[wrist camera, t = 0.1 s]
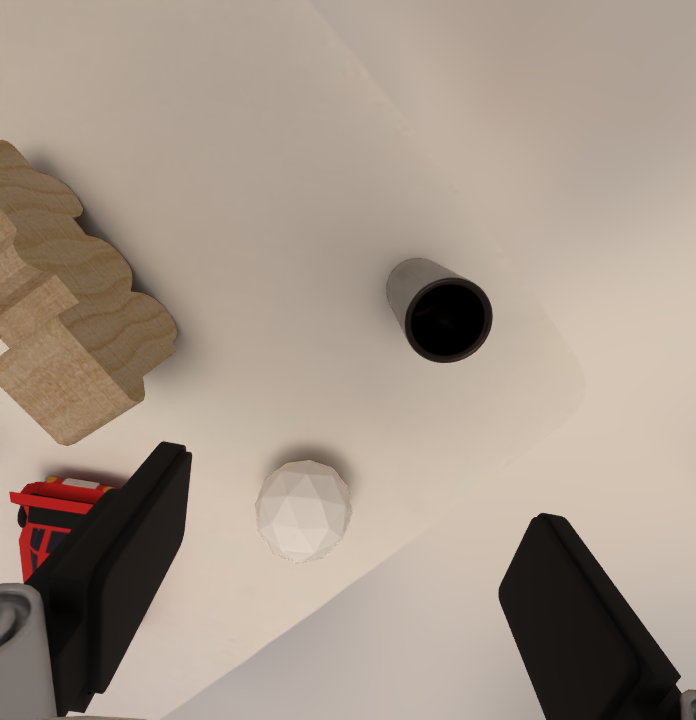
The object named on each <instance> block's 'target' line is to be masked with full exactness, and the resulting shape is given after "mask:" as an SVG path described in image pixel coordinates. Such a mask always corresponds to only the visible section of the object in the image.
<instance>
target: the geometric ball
mask: <svg viewBox="0 0 696 720" xmlns="http://www.w3.org/2000/svg"><path fill="white" fill-rule="evenodd" d="M255 507H256V516H257V525H258V531H259V533H260V534H261V536H262V537H263V539H264V540H265V542H266V543H267V545H268V546H269V548H270V550H271V551H272V553H273V554H276V555H278V556H281V557H283V558H285V559H288V560H290V561H293V562H295V563H301V562H306V561H311V560H316V559H321V558H324V557H325V556H326V555H327V554H328V553H329V552H330V551H331V550H332V549H333V548H334V547H335V546H336V545H337V543H338V542H339V541H340V540H341V539H342V538H343V536H344V533H345V531H346V528H347V526H348V523H349V521H350V518H351V516H352V507H351V502H350V496H349V490H348V486H347V485H346V484H345V483H344V481H343V480H342V479H341V478H340V476H339V475H338V474H337V473H336V471H335V470H334V469H333V468H332V467H329V466H326V465H323V464H320V463H317V462H314V461H311V460H305V461H298V462H290V463H285V464H284V465H283V466H281V467H280V468H279V469H278V470H276V471H275V472H274V473H272V474H271V475H270V476H269V477H267V478H266V479H265V481H264V484H263V486H262V488H261V491H260V493H259V496H258V498H257V501H256V503H255Z"/></svg>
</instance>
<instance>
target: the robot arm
mask: <svg viewBox="0 0 696 720" xmlns="http://www.w3.org/2000/svg"><path fill="white" fill-rule="evenodd" d="M191 462H192V453H191V452H186V447H185V446H184V445H180V444H175V443H169V442H164V441H163V442H161V443H160V444H159V445H158V446H157V447H156V448H155V450H154V451H153V452H152V453H151V454H150V455H149V457H148V458H147V459H146V460H145V461H144V463H143V464H142V465H141V466H140V467H139V469H138V470H137V471H136V472H135V473H134V474H133V476H132V477H131V478H130V479H129V480H128V482H127V483H126V484H125V485H124V486H123V488H122V489H116V488H111V489H109V490H107V491H106V492H105V493H104V494H103V495H102V496H101V497H100V498H99V500H98V501H97V502H96V503H95V504H94V505H93V506H92V507H91V509H90V510H89V511H88V512H87V513H86V514H85V515H84V516H83V517H82V519H81V520H80V521H79V522H78V523H77V524H76V525H75V526H74V528H73V529H72V530H71V531H70V532H69V533H68V534H67V535H66V537H65V538H64V539H63V540H62V541H61V542H60V543H59V544H58V546H57V547H56V548H55V549H54V550H53V551H52V552H51V553H50V554H49V556H48V557H47V558H46V559H45V560H44V561H43V562H42V563H41V565H40V566H39V567H38V568H37V569H36V570H35V571H34V572H33V574H32V575H31V576H30V577H29V578H28V579H27V580H26V581H25V583H24V584H21V583H3V584H0V720H145V719H136V718H119V717H100V716H73V717H66V715H67V713H68V711H73V712H81V713H85V711H86V709H87V707H88V705H89V703H90V702H91V700H92V698H93V696H94V694H95V693H99V694H103V693H104V692H105V690H106V689H107V687H108V686H109V684H110V682H111V680H112V678H113V676H114V674H115V672H116V670H117V668H118V666H119V664H120V663H121V661H122V659H123V657H124V655H125V653H126V651H127V649H128V647H129V645H130V643H131V641H132V639H133V637H134V635H135V633H136V631H137V629H138V628H139V626H140V624H141V622H142V620H143V618H144V616H145V614H146V612H147V610H148V608H149V606H150V604H151V602H152V600H153V598H154V596H155V594H156V593H157V591H158V589H159V587H160V585H161V583H162V581H163V579H164V577H165V575H166V573H167V571H168V569H169V567H170V565H171V563H172V561H173V560H174V558H175V556H176V554H177V552H178V550H179V548H180V546H181V543H182V540H183V536H184V531H185V521H186V511H187V501H188V492H189V482H190V472H191ZM499 601H500V604H501V606H502V609H503V611H504V614H505V616H506V619H507V621H508V624H509V627H510V629H511V632H512V634H513V637H514V639H515V642H516V644H517V647H518V649H519V652H520V654H521V657H522V660H523V662H524V664H525V667H526V670H527V672H528V675H529V677H530V680H531V682H532V685H533V687H534V690H535V692H536V695H537V698H538V700H539V703H540V705H541V708H542V710H543V713H544V715H545V718H546V720H696V690H687V691H685V692H683V693H681V692H680V690H679V689H678V687H677V686H676V683H677V681H678V680H679V679H680V677H681V676H680V674H679V673H678V671H677V670H676V669H675V668H674V666H673V665H672V663H671V662H670V661H669V659H668V658H667V656H666V655H665V654H664V652H663V651H662V650H661V649H660V647H659V645H658V644H657V643H656V641H655V640H654V638H653V637H652V636H651V634H650V633H649V632H648V631H647V629H646V628H645V626H644V625H643V623H642V622H641V621H640V619H639V618H638V616H637V615H636V614H635V612H634V611H633V610H632V608H631V607H630V606H629V604H628V603H627V601H626V600H625V599H624V598H623V596H622V595H621V593H620V592H619V590H618V589H617V588H616V586H614V584H613V582H612V581H611V580H610V578H609V577H608V575H607V574H606V573H605V571H604V570H603V568H602V567H601V566H600V564H599V563H598V562H597V560H596V559H595V557H594V556H593V555H592V554H591V552H590V551H589V549H588V548H587V546H586V545H585V544H584V542H583V541H582V540H581V538H580V537H579V535H578V534H577V533H576V531H575V530H574V529H573V527H572V526H571V525H570V523H569V522H568V521H567V519H566V518H564V517H562V516H557V515H552V514H547V513H541V514H539V515H538V516H537V517H534V518H533V519H532V520H531V522H530V524H529V526H528V528H527V530H526V532H525V534H524V536H523V539H522V541H521V543H520V545H519V547H518V549H517V551H516V553H515V555H514V557H513V560H512V562H511V564H510V566H509V568H508V570H507V572H506V574H505V576H504V578H503V580H502V582H501V585H500V587H499Z"/></svg>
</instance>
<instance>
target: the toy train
mask: <svg viewBox="0 0 696 720" xmlns="http://www.w3.org/2000/svg"><path fill="white" fill-rule="evenodd" d="M82 211H83V208H82V206H81V204H80V202H79V200H78V198H77V196H76V195H75V194H74V193H73V192H72V191H71V190H70V189H69V188H68V187H67V186H66V185H65V184H64V183H62V182H60V181H59V180H57V179H56V178H54V177H52V176H49V175H46V174H43V173H39V172H36V171H35V170H34V168H33V167H32V166H31V165H30V164H29V163H28V162H27V160H26V159H25V158H24V157H23V156H22V155H21V153H20V152H19V151H18V150H17V149H16V148H15V147H14V146H13V145H12V144H10V143H9V142H7V141H4V140H0V339H1V340H2V341H3V342H4V343H5V344H6V345H7V346H8V347H9V348H10V349H9V350H8V351H6V352H5V353H3V354H2V355H1V356H0V387H1V388H2V389H3V390H4V391H5V392H7V393H8V394H9V395H10V396H11V397H12V398H13V399H14V400H15V401H16V402H17V403H18V404H19V405H20V406H21V407H22V408H23V409H24V410H25V411H26V412H27V413H28V414H29V415H30V416H31V417H32V418H33V419H34V420H35V421H36V422H37V423H38V424H39V425H40V426H41V427H42V428H43V429H44V430H45V431H46V432H47V433H48V434H49V435H50V436H51V437H52V438H53V439H54V440H55V441H57V442H58V443H59V444H62V445H66V446H69V445H72V444H75V443H76V442H78V441H80V440H81V439H83V438H84V437H86V436H87V435H89V434H91V433H92V432H94V431H95V430H97V429H99V428H100V427H102V426H103V425H105V424H107V423H108V422H110V421H111V420H113V419H115V418H116V417H118V416H119V415H121V414H123V413H124V412H126V411H127V410H129V409H130V408H132V407H134V406H135V405H137V404H138V403H140V402H142V401H143V400H144V397H145V390H144V382H143V376H144V375H146V374H147V373H148V372H149V371H151V370H152V369H153V368H155V367H156V366H157V365H159V364H160V363H161V362H162V361H164V360H165V359H166V358H168V357H169V356H170V355H172V354H173V353H174V352H175V346H174V344H173V341H174V340H175V339H176V335H177V328H176V325H175V322H174V321H173V319H172V317H171V315H170V314H169V312H168V311H167V310H166V309H165V308H164V307H163V305H162V304H160V303H159V302H158V301H156V300H155V299H154V298H152V297H150V296H148V295H146V294H144V293H138V292H131V286H132V281H133V280H132V270H131V269H130V267H129V265H128V263H127V262H126V261H125V259H124V258H123V257H122V256H121V254H120V253H119V252H118V251H117V250H116V249H115V248H114V247H113V246H112V245H110V244H108V243H107V242H105V241H103V240H101V239H99V238H96V237H92V236H88V235H86V234H85V233H84V232H83V230H82V229H81V228H80V227H79V225H78V224H77V223H76V221H75V219H76V218H78V217H79V216H80V215H81V213H82Z"/></svg>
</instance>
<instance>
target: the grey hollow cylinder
mask: <svg viewBox="0 0 696 720" xmlns="http://www.w3.org/2000/svg"><path fill="white" fill-rule="evenodd" d="M387 297H388V301H389V303H390V306H391V308H392V310H393V312H394V314H395V316H396V318H397V320H398V322H399V324H400V326H401V328H402V330H403V332H404V334H405V336H406V338H407V340H408V342H409V344H410V345H411V347H412V348H413V349H414V350H415V352H417V353H418V354H419V355H420V356H422V357H423V358H425V359H427V360H430V361H433V362H438V363H451V362H456V361H460V360H462V359H465V358H467V357H468V356H470V355H472V354H473V353H474V352H476V351H477V350H478V349H479V348H480V347H481V346H482V344H483V343H484V342H485V340H486V338H487V337H488V335H489V332H490V329H491V326H492V318H493V314H492V307H491V304H490V301H489V299H488V297H487V295H486V294H485V292H484V291H483V290H482V289H481V288H480V287H479V286H478V285H476V284H475V283H473V282H471V281H470V280H468V279H466V278H464V277H462V276H460V275H458V274H456V273H454V272H452V271H450V270H448V269H446V268H444V267H442V266H440V265H438V264H436V263H434V262H432V261H430V260H427V259H422V258H414V259H409V260H407V261H404V262H402V263H401V264H399V265H398V266H397V267H396V268H395V269H394V270H393V271H392V273H391V275H390V277H389V279H388V282H387Z"/></svg>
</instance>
